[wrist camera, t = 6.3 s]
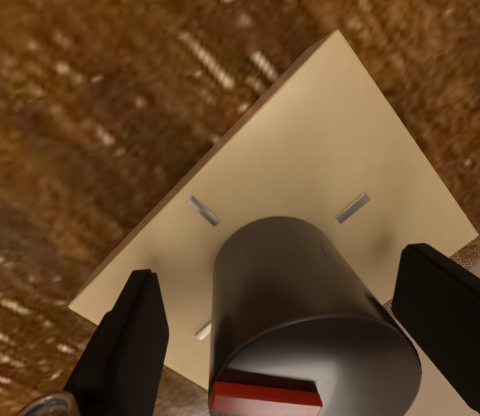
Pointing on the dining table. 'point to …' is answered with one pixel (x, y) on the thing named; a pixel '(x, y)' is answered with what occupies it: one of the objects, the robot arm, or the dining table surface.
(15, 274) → the dining table surface
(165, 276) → the panel
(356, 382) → the knob
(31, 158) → the dining table surface
